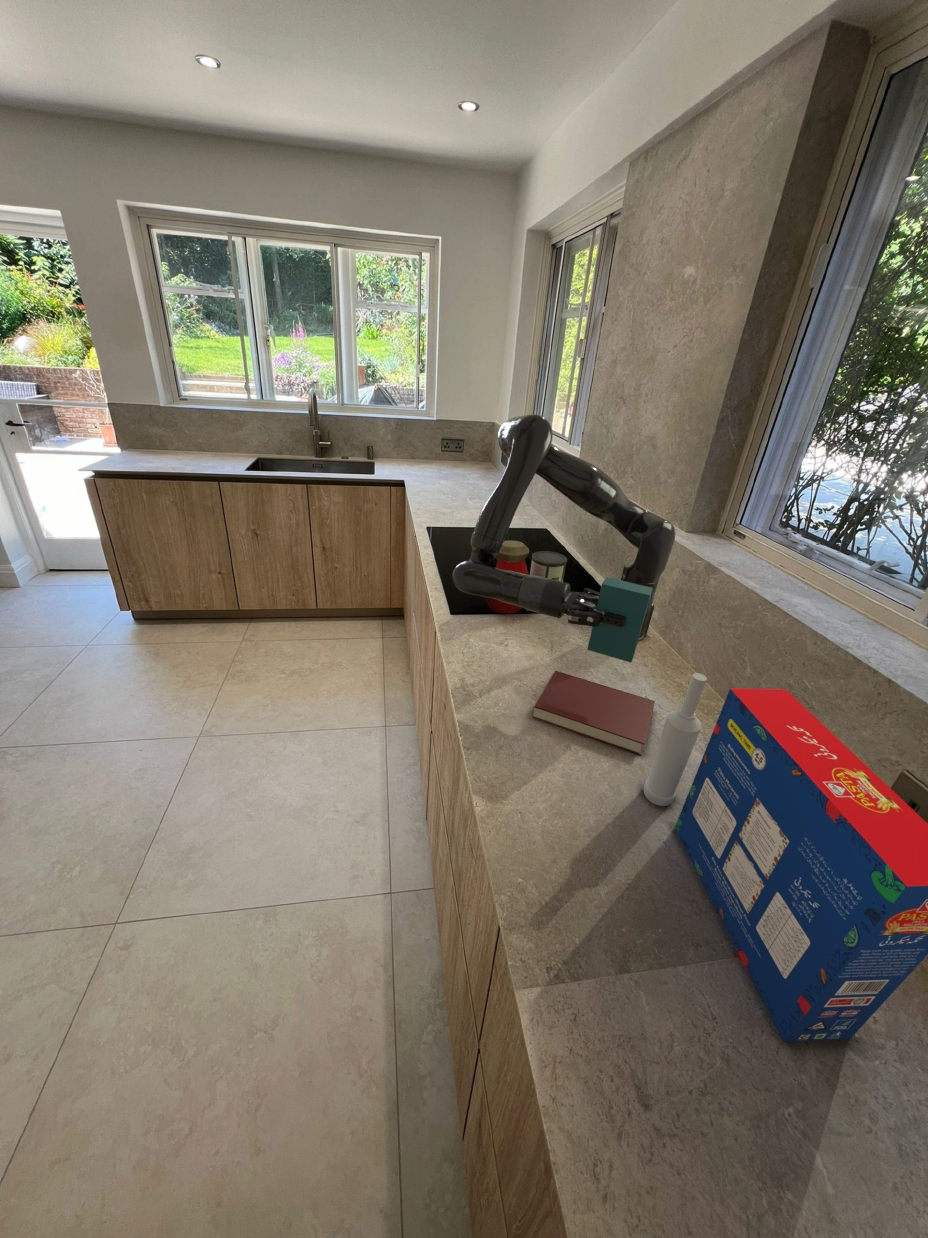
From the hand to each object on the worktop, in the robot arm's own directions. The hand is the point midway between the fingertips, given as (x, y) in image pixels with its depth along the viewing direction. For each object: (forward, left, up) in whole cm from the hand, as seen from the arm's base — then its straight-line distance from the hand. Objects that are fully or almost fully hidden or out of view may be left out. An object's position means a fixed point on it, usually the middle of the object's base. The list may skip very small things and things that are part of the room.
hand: (626, 617), depth 97 cm
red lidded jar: (+1, -48, -22) cm, 52 cm away
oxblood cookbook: (+5, +2, -22) cm, 22 cm away
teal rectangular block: (+1, -1, -8) cm, 9 cm away
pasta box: (+10, +45, -22) cm, 51 cm away
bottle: (+7, +24, -22) cm, 33 cm away
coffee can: (-13, -50, -22) cm, 56 cm away
